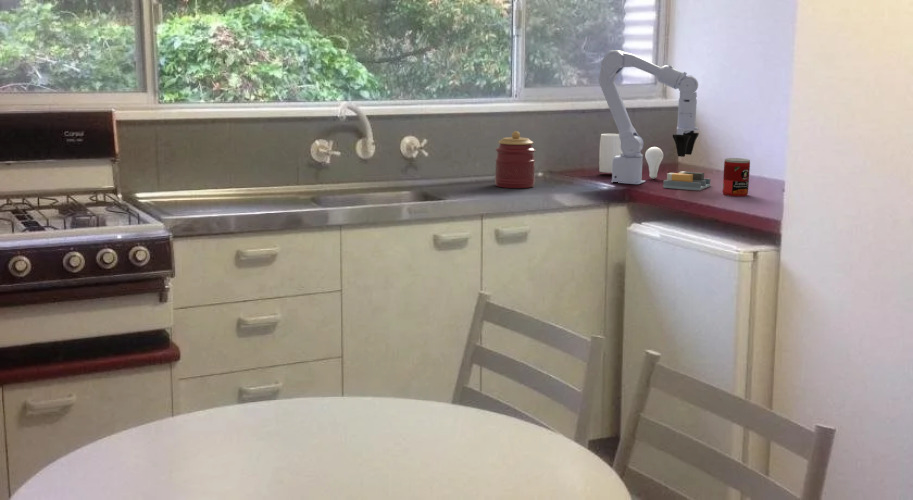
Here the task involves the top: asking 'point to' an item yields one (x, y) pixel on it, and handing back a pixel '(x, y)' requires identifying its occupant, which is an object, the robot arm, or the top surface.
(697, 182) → the slot board
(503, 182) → the canister
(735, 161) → the canned food
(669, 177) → the tall orange block
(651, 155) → the lightbulb
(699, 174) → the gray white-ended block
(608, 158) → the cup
